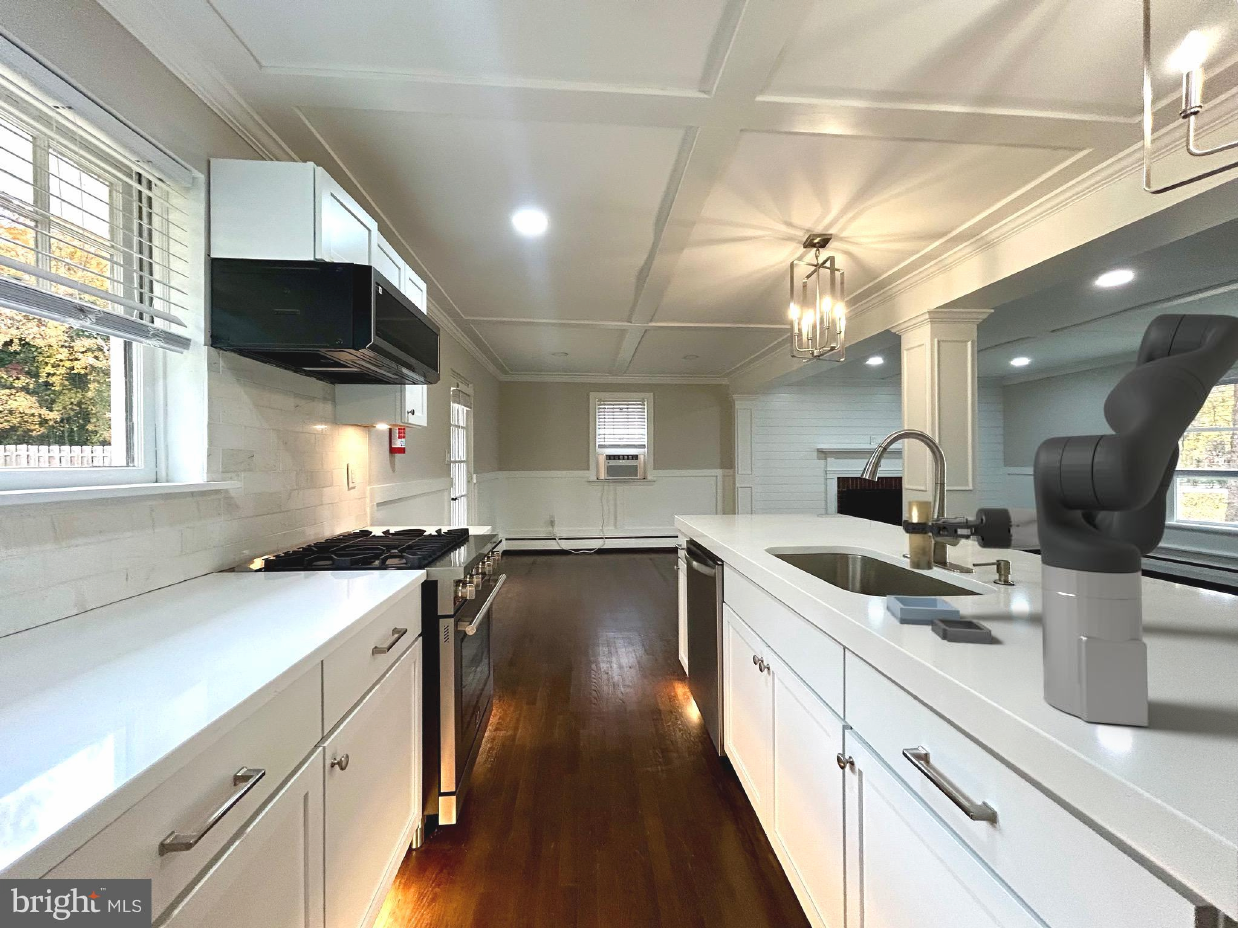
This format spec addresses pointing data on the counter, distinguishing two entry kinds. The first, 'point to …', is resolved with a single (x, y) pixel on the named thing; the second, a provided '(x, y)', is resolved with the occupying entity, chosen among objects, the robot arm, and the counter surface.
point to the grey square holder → (961, 630)
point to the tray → (920, 609)
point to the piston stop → (920, 536)
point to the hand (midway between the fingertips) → (904, 526)
